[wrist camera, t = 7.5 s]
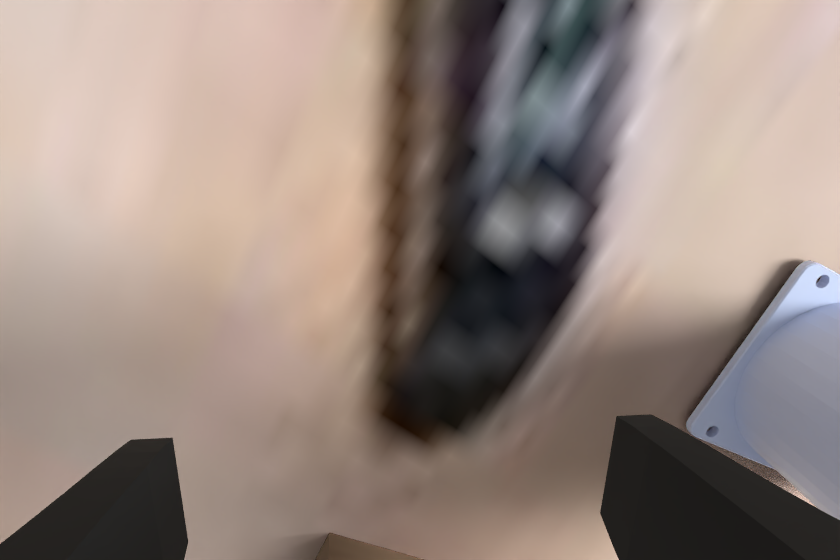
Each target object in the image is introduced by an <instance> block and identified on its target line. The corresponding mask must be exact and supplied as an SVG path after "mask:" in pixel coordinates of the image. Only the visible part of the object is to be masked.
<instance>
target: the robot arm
mask: <svg viewBox="0 0 840 560" xmlns="http://www.w3.org/2000/svg"><path fill="white" fill-rule="evenodd" d="M820 276H821V278H820V280H819V281H818V282H817V283H816V281H817V279H818V278H819V277H820ZM710 427H712V428H711V429H710V430H708V431H707V429H709V428H710ZM686 428H687V430H688V431H689V432H690V433H691V434H692V435H693V436H694V437H696V438H699V439H701V440H704V441H706V442H709V443H711V444H714V445H716V446H718V447H721V448H723V449H726V450H728V451H731V452H733V453H735V454H738V455H740V456H743V457H745V458H748V459H750V460H753V461H755V462H757V463H760V464H762V465H765V466H767V467H770V468H772V469H775V470H776V471H778V472H779V473H780V474H781V475H782V476H783V477H784V478H785V479H786V480H787V481H788V482H790V483H791V484H792V485H793V486H794V487H795V488H796V489H797V490H798V491H799V492H800V493H802V494H803V495H804V496H805V497H806V498H807V499H808V500H809V501H810V502H811V503H812V504H814V505H815V506H816V507H817V508H816V507H814V506H812V505H811V504H809V503H807V502H805V501H803V500H801V499H800V498H798V497H796V496H794V495H792V494H791V493H789V492H787V491H785V490H784V489H782V488H780V487H778V486H777V485H775V484H773V483H771V482H770V481H768V480H766V479H764V478H763V477H761V476H759V475H757V474H756V473H754V472H752V471H750V470H749V469H747V468H745V467H744V466H742V465H740V464H738V463H737V462H735V461H733V460H732V459H730V458H728V457H726V456H725V455H723V454H721V453H720V452H718V451H716V450H715V449H713V448H711V447H709V446H708V445H706V444H704V443H703V442H701V441H699V440H697V439H696V438H694V437H692V436H690V435H689V434H687V433H685V432H683V431H682V430H680V429H678V428H676V427H674V426H673V425H671V424H669V423H667V422H665V421H663V420H661V419H659V418H657V417H655V416H653V415H632V416H617V417H616V423H615V429H614V435H613V441H612V447H611V453H610V459H609V464H608V470H607V476H606V482H605V488H604V494H603V500H602V506H601V512H600V514H601V516H602V519H603V521H604V524H605V526H606V529H607V532H608V534H609V537H610V539H611V542H612V544H613V547H614V549H615V551H616V554H617V556H618V558H619V560H840V275H839V274H838V273H836V272H834V271H832V270H830V269H829V268H827V267H825V266H823V265H821V264H819V263H817V262H814V261H810V260H809V261H804V262H803V263H801V264H799V265H798V266H797V268H796V269H795V270H794V272H793V273H792V274H791V276H790V277H789V279H788V280H787V281H786V283H785V284H784V286H783V287H782V288H781V290H780V291H779V293H778V294H777V295H776V297H775V298H774V300H773V301H772V302H771V304H770V305H769V307H768V308H767V309H766V311H765V312H764V314H763V315H762V316H761V318H760V319H759V321H758V322H757V323H756V325H755V326H754V328H753V329H752V330H751V332H750V333H749V334H748V336H747V337H746V339H745V340H744V341H743V343H742V344H741V346H740V347H739V348H738V350H737V351H736V353H735V354H734V355H733V357H732V358H731V360H730V361H729V362H728V364H727V365H726V367H725V368H724V369H723V371H722V372H721V374H720V375H719V376H718V378H717V379H716V381H715V382H714V383H713V385H712V386H711V388H710V389H709V390H708V392H707V393H706V395H705V396H704V397H703V399H702V400H701V402H700V403H699V404H698V406H697V407H696V409H695V410H694V411H693V413H692V414H691V416H690V417H689V418H688V420H687V422H686ZM187 545H188V538H187V531H186V525H185V518H184V511H183V505H182V498H181V491H180V485H179V478H178V471H177V465H176V458H175V451H174V445H173V438H158V439H138V440H130V441H129V442H127V443H126V444H125V445H123V446H122V447H121V448H119V449H118V450H117V451H115V452H114V453H113V454H112V455H110V456H109V457H108V458H107V459H105V460H104V461H103V462H102V463H100V464H99V465H98V466H97V467H96V468H94V469H93V470H92V471H91V472H89V473H88V474H87V475H86V476H85V477H83V478H82V479H81V480H80V481H78V482H77V483H76V484H75V485H74V486H72V487H71V488H70V489H69V490H67V491H66V492H65V493H64V494H62V495H61V496H60V497H59V498H57V499H56V500H55V501H54V502H52V503H51V504H50V505H49V506H47V507H46V508H45V509H44V510H42V511H41V512H40V513H39V514H37V515H36V516H35V517H34V518H32V519H31V520H30V521H29V522H27V523H26V524H25V525H24V526H22V527H21V528H20V529H19V530H17V531H16V532H15V533H14V534H12V535H11V536H10V537H9V538H7V539H6V540H5V541H4V542H2V543H1V544H0V560H184V558H185V553H186V549H187Z"/></svg>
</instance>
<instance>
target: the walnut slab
mask: <svg viewBox="0 0 840 560" xmlns="http://www.w3.org/2000/svg"><path fill="white" fill-rule="evenodd" d="M315 560H424V559H420V558H417V557H413V556H410V555H406V554H403V553H399V552H396V551H392V550H389V549H385V548H382V547H378V546H375V545H371V544H368V543H364V542H361V541H357V540H354V539H350V538H347V537H343V536H340V535H336V534H333V533H329V535H328V537H327V539H326V540H325V542H324V544H323V546H322V548H321V550H320V552H319V554H318V555H317V557H316V559H315Z"/></svg>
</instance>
